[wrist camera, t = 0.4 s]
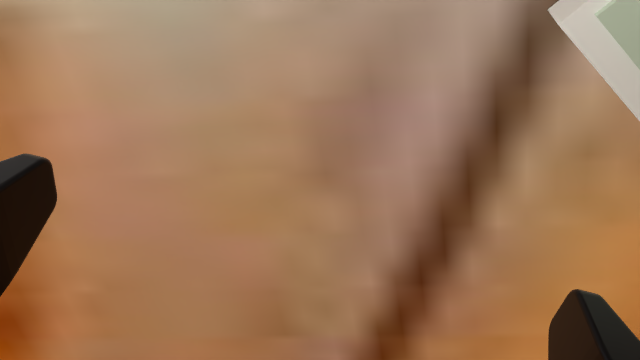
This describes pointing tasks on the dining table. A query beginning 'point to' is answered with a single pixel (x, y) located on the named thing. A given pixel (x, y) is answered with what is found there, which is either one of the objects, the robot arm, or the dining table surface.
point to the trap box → (607, 41)
